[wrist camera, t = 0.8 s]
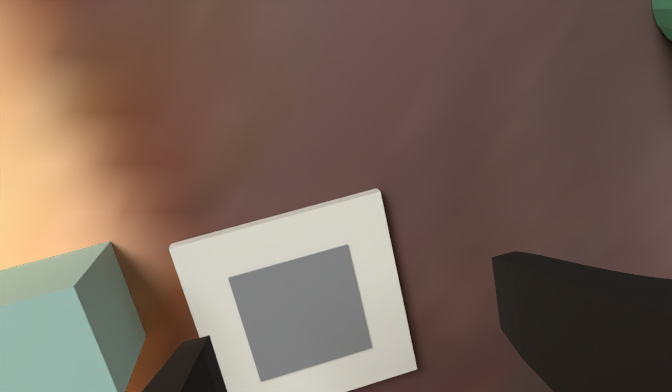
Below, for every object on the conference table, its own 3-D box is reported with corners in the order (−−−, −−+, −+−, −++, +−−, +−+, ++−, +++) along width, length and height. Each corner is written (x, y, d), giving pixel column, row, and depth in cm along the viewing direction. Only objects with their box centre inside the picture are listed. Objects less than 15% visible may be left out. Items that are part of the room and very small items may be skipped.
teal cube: (146, 335, 21) (121, 401, 17) (40, 366, 21) (-14, 442, 17) (111, 240, 20) (73, 286, 16) (-4, 270, 20) (-74, 326, 15)
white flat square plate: (413, 361, 24) (417, 370, 23) (231, 418, 23) (230, 429, 22) (376, 188, 21) (381, 192, 21) (170, 243, 20) (168, 249, 20)
